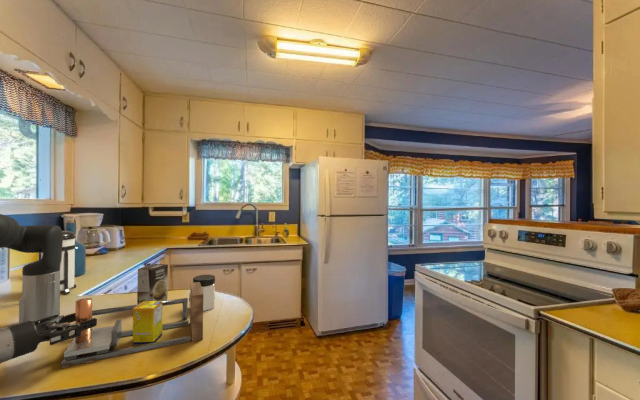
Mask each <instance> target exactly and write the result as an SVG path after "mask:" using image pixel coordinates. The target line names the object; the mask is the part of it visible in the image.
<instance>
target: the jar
mask: <svg viewBox="0 0 640 400" xmlns="http://www.w3.org/2000/svg"><path fill="white" fill-rule="evenodd" d="M194 282H200V284H201V288H202V291H203V312H206V311H209V310H213V309H214V308H215V299H216V297H215V296H216V295H215V294H216V290H215V285H216V284H215V283H216V276H215V275H214V274H200V275H196V276H193V278H192V283H194Z"/></svg>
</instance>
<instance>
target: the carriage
mask: <svg viewBox="0 0 640 400" xmlns="http://www.w3.org/2000/svg"><path fill="white" fill-rule="evenodd" d="M92 311H93V297H92V298H91V297H85V298H80V299H77V300H76V301H75V312H74V313H75V321H74V323H79V322H83V321H86V320H89V319H92V318H93V316H92ZM121 332H122V319H117V320H116V321H115V323H114V325H110V326H109V325H108V326H104V327H97V328H93V327H92V328H89V329H86V330H83V331H81V335H80V336H78V337H75V338H72V341H71V342H70V344H69V345H68V346H67V348H66V350H64V352H63V360H64V361H65V360H70V359H76V358H77V357H79V355H85V354H91V352H96V351H97V354H102V353H107V352H108V351H110V348H116V347H118V344H119V341H120V339H121V337H120V336H121Z"/></svg>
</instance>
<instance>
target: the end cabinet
mask: <svg viewBox="0 0 640 400" xmlns="http://www.w3.org/2000/svg"><path fill="white" fill-rule="evenodd" d="M189 287H190V288H189V289H190V290H189V291H190V292H189V297H188V302H189V316H190V317H189V321H190V322H189V324H190V325H189V326H190V337H191V341H192V342H197V341H202V340H203V338H204V337H203V336H204V311H203V291H202V288H201V284H200V282H194V283H193V282H190V285H189Z"/></svg>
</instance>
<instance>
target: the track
mask: <svg viewBox="0 0 640 400" xmlns="http://www.w3.org/2000/svg"><path fill="white" fill-rule="evenodd" d="M189 321H190V319H189V320H188V319H187V320H182V321H177V322H170V323H165V324H162V331H163V330H164V331H165V330H169V329H174V328H175V329H176V328H180V327H186V326H187V327H188V326H190V325H189V324H190V322H189ZM128 336H133V329H129V330H124V331H122V330H121V336H120V338H124V337H128ZM190 342H191V335H187V336H181V337H176V338H173V339H165V340H160V341H156V342H155V343H149V344H143V345H133V346H129V347H124V348H119V349H114V350H109V351H108V352H107V353H102V354H97V351H96V352H90V353H89V354H86V355H82V356H77V358H76V359H70V360H65V361H64V359H63V360H62V361H61V362H60V369H66V368H67V369H68V368H70V366H74V365H78V364H83V363H84V364H86V365H87V364H92V363H94V362H95V361H99V360H102V359H108V358H114V357H119V356H125V355H129V354H134V353H138V352H144V351H149V350H153V349H154V350H155V349H159V348H165V347H168V346H169V347H170V346H173V345H179V344H183V343H190Z"/></svg>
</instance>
